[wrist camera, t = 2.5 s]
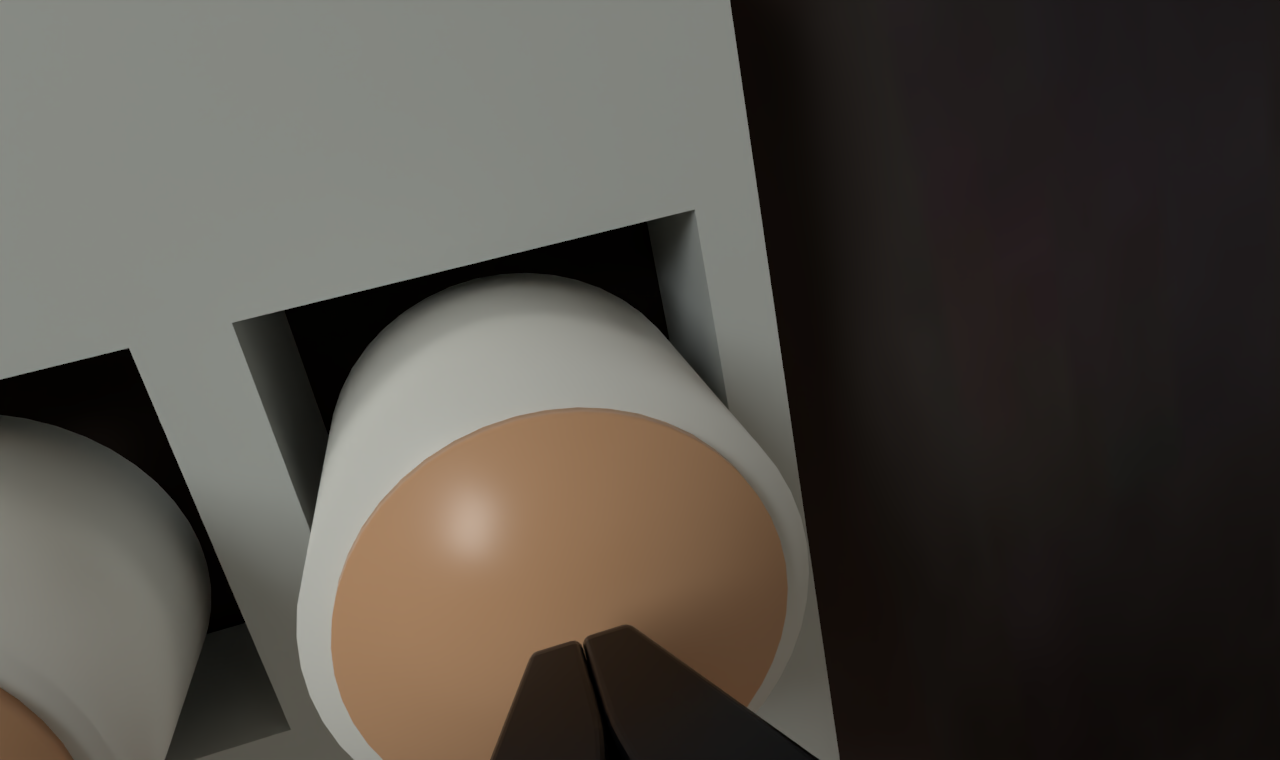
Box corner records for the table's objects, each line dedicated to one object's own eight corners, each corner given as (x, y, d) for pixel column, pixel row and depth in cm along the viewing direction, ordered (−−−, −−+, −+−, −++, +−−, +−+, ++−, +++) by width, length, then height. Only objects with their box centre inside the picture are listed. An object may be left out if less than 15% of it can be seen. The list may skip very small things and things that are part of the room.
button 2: (664, 231, 12) (781, 319, 8) (724, 556, 14) (842, 747, 10) (274, 328, 11) (209, 471, 7) (391, 655, 13) (385, 902, 9)
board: (633, -161, 13) (699, -216, 10) (776, 677, 18) (844, 795, 15) (-1251, 185, 10) (-1909, 244, 7) (-414, 1063, 15) (-600, 1296, 12)
